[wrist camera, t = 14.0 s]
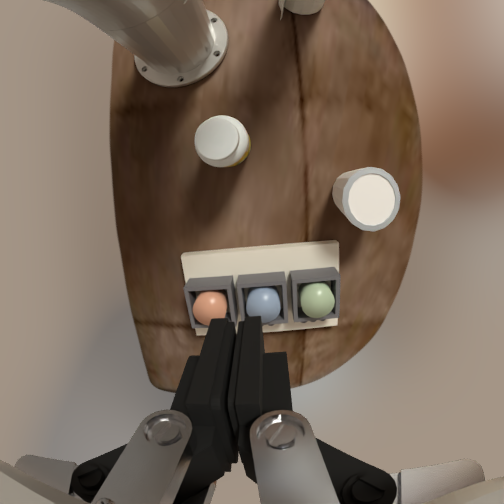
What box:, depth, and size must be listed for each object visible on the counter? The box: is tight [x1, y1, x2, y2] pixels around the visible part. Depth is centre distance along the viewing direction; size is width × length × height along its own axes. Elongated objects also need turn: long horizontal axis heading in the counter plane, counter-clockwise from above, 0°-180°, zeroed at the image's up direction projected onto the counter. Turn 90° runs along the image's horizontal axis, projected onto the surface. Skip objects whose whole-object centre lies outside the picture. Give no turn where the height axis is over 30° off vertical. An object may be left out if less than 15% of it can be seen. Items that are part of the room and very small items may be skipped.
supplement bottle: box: [195, 115, 251, 167], centre depth 28 cm, size 5×5×10 cm
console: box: [181, 240, 340, 335], centre depth 36 cm, size 12×20×4 cm, turn 95°
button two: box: [246, 285, 280, 323], centre depth 35 cm, size 4×4×4 cm
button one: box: [193, 289, 229, 326], centre depth 35 cm, size 4×4×4 cm
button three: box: [298, 281, 335, 318], centre depth 34 cm, size 4×4×4 cm
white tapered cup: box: [332, 167, 400, 231], centre depth 31 cm, size 7×7×7 cm
